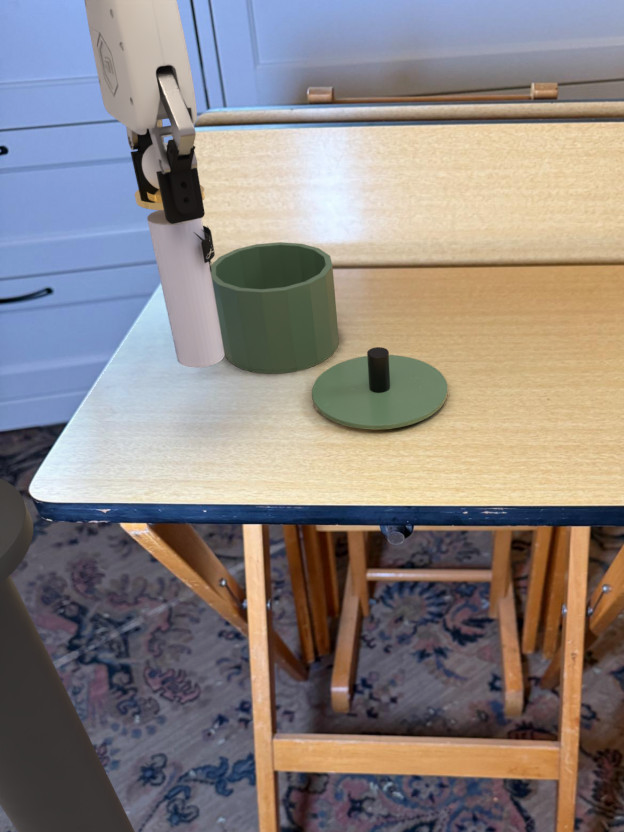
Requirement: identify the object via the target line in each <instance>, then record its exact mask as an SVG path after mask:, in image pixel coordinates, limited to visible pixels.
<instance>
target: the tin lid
mask: <svg viewBox="0 0 624 832" xmlns="http://www.w3.org/2000/svg"><path fill="white" fill-rule="evenodd" d="M389 353H390V352H389V350H388V349H387V348H385V347H381V346H376V347H372V348H370V349H368V350H367V352H366V355H364V356H358V357H354V358H351V359H346V360H344V361H341V362H339V363H337V364H334V365H332V366H331V367H329V368H327V369H326V370H324V371H323V372H322V373H320V375H319V376H317V378H316V380H315V381H314V383H313V384H312V389H311V399H312V403H313V405H314V407H315V409H316V410H318V412H319V413H320V414H321V415H322V416H324V417H325V418H326V419H328V420H330V421H332V422H334V423H336V424H338V425H342V426H345V427H349V428H354V429H361V430H372V431H373V430H391V429H398V428H403V427H406V426H410V425H414V424H416V423H420V422H422V421H424V420H426V419H428V418H429V417H431V416H433V415H434V414H436V413H437V412H438V411H439V410H440V409H441V408H442V406H443V405H444V404H445V402H446V400H447V398H448V392H449V391H448V390H449V389H448V383H447V380H446V378H445V376H444V374H442V372H441V371H440V370H439V369H437V368H436V367H435V366H433V365H431V364H429V363H427V362H425V361H423V360H420V359H417V358H413V357H409V356H403V355H397V354H389Z"/></svg>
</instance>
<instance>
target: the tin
mask: <svg viewBox="0 0 624 832" xmlns="http://www.w3.org/2000/svg"><path fill="white" fill-rule="evenodd" d="M210 265H211V270H212V272H211V276H212V282H213V288H214V294H215V299H216V305H217V311H218V317H219V323H220V329H221V335H222V341H223V347H224V353H225V356H224V357H225V358H226V359H227V360H228V362H229V363H230V364H232V366H235V367H237V368H238V369H241V370H244V371H248V372H251V373H257V374H258V373H259V374H268V375H269V374H271V375H273V374H274V375H275V374H287V373H295V372H298V371H299V372H300V371H304V370H306V369H308V368H309V369H310V368H312V367H315V366H317V365H320V364H321V363H323V362H324V361H327V360H328V359H329V358H330V357H332V355H333V354H334V353H335V352H336V350H337V348H338V346H339V342H340V341H339V340H340V338H339V326H338V325H339V324H338V313H337V305H336V304H337V303H336V302H337V301H336V292H335V291H336V290H335V280H334V279H335V278H334V277H335V276H334V268H333V267H334V266H333V262H332V258H331V256H330V255H329V254H328V253H326V251H324V250H322V249H321V248H319V247H316V246H312V245H308V244H305V243H299V242H297V243H296V242H279V241H277V242H269V243H258V244H257V243H256V244H253V245H248V246H244V247H239V248H236V249H234V250H232V251H229V252H227V253H225V254H223V255H221V256H219V257H217V259H215V261H214V262H212V263H211V264H210Z"/></svg>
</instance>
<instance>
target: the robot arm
mask: <svg viewBox="0 0 624 832" xmlns="http://www.w3.org/2000/svg"><path fill="white" fill-rule="evenodd" d="M84 7H85V14H86V20H87V25H88V30H89V36H90V41H91V47H92V52H93V57H94V62H95V67H96V73H97V79H98V84H99V88H100V93H101V98H102V103H103V106H104V109H105V111H106V112H107V113H108V114H109V115H110V116H111V117H112V118H113V119H115V120H117V121H118V122H119V123H121V124H122V125H124V126H125V127H126V136H127V142H128V146H129V148H130V150H131V151H130V156H131V161H132V166H133V169H134V175H135V179H136V184H137V188H138V189H137V190H139V189H141V188H143V187H145V186H148V185H151V184H150V183H149V182H148V180H147V179H146V177H145V175H144V173H143V169H142V158H143V155H144V153H145V151H146V149H147V148H148V147H149V146H151V145H152V144H153V146H154V149H155V153H156V156H157V160H158V163H159V166H160V170H161V171H158V172H156V173H157V178H158V183H159V188H160V193H161V198H162V203H163V208H164V213H165V218H166V220H167V221H168V222H169V223H171V224H175V223H180V222H184V221H189V220H194V219H199V218H202V219H203V218H204V217H205V214H206V213H205V207H204V200H202V194H201V188H200V185H201V183H200V177H199V172H198V171H199V169H198V159H197V156H196V152H195V149H196V146H195V145H194V144H195V140H196V135H197V133H196V129H195V126H194V125H195V124H196V121H197V120H198V112H197V111H198V110H197V101H196V93H195V86H194V79H193V74H192V73H193V72H192V68H191V63H190V58H189V51H188V48H187V42H186V37H185V32H184V28H183V24H182V23H183V22H182V18H181V15H180V14H181V13H180V9H179V8H180V7H179V4H178V1H177V0H84ZM166 119H167V120H169V123H170V125H164V126H163V120H166ZM168 137H172V139H168V140H167V143H168V144H167V151H166V150H165V146H164V143H163V142H165V139H164V138H168Z"/></svg>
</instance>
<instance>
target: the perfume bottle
mask: <svg viewBox="0 0 624 832" xmlns="http://www.w3.org/2000/svg"><path fill="white" fill-rule="evenodd" d="M163 143H164V146H165V150H166V151H167V144H168V142H167V141H166V142H165V141H164V142H163ZM142 169H143V173H144V175H145V177H146V179H147V180H148V182H149V183H150V184H151V185H148V186H145V187H143V188H141V189H137V190H136V191H135V192H134V198H135V204H136V205H137V206H139V207H140V208H142V209H147V210H152V211H153V210H154V211H153V212H151V213H149V214H148V215H147V218H146V220H147V224H148V228H149V233H150V238H151V242H152V248H153V252H154V256H155V262H156V266H157V271H158V275H159V280H160V285H161V290H162V294H163V299H164V303H165V308H166V313H167V317H168V323H169V328H170V332H171V336H172V341H173V345H174V346H173V347H174V351H175V356H176V360H177V362H178V363H179V364H180V365H181V366H183V367H186V368H191V369H198V368H199V369H201V368H206V367H207V368H208V367H211V366H213V365H216V364H218V363H220V362H221V361H222V360H223V359H224V358H225V357H226V356H225V353H224V347H223V341H222V335H221V329H220V323H219V317H218V311H217V305H216V299H215V294H214V288H213V282H212V276H211V272H212V270H211V265H212V260H213V259H214V258H215V256H216V253H215V247H214V241H213V234H212V231H211V229H210V228H209V227H210V226H208V225H206V226H205V225H204V224H203V217H202V218H199V219H194V220H189V221H184V222H180V223H175V224H171V223H169V222H168V221H167V220H166V218H165V213H164V208H163V203H162V198H161V193H160V188H159V183H158V178H157V173H156V172H158V171H161V170H160V166H159V163H158V160H157V156H156V153H155V149H154V146H153V144H152V145H151V146H149V147H148V148H147V149H146V151H145V153H144V155H143V158H142ZM200 188H201V194H202V200H203V201H204V200H205V198H206V191H205V187H203V185H202V184H200Z"/></svg>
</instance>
